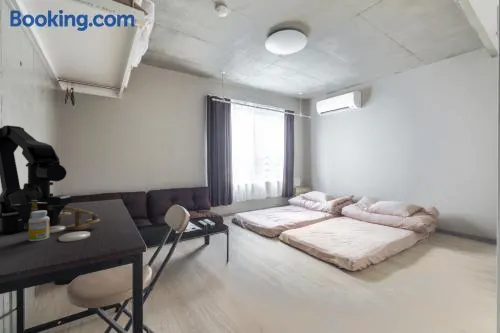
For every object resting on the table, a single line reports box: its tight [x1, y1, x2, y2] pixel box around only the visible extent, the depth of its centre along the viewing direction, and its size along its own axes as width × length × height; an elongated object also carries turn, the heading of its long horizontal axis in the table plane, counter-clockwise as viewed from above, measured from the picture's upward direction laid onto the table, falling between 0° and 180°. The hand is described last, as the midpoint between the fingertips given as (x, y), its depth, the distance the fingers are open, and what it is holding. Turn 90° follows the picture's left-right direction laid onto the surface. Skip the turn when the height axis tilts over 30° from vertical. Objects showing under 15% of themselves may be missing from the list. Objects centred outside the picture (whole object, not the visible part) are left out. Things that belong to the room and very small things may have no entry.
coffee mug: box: [37, 202, 63, 227], centre depth 98 cm, size 12×9×10 cm
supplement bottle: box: [28, 210, 51, 242], centre depth 80 cm, size 5×5×10 cm
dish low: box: [58, 230, 91, 243], centre depth 82 cm, size 9×9×1 cm
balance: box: [59, 205, 101, 231], centre depth 93 cm, size 17×5×9 cm, turn 91°
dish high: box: [49, 225, 66, 234], centre depth 89 cm, size 7×7×1 cm
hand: (39, 224), depth 80 cm, fingers open, 9 cm apart
